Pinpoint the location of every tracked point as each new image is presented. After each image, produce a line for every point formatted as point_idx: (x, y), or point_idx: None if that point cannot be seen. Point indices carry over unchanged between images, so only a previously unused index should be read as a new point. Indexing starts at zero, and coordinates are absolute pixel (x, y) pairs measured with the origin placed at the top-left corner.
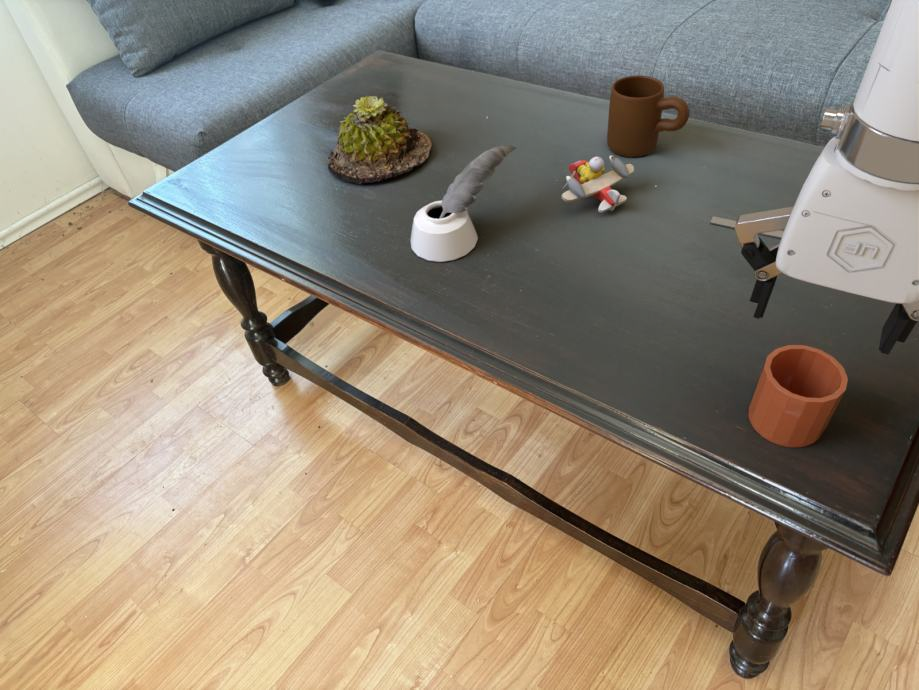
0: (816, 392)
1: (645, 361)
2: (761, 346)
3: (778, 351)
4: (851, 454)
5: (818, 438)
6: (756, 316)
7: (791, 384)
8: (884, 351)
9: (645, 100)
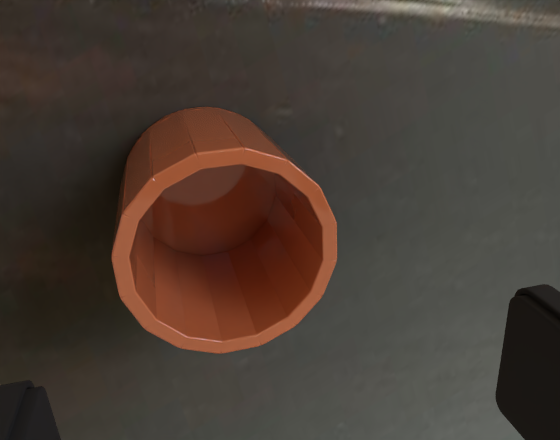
0: (173, 267)
1: (497, 183)
2: (302, 338)
3: (315, 290)
4: (44, 166)
5: (124, 168)
6: (543, 288)
7: (228, 265)
8: (13, 389)
9: None
